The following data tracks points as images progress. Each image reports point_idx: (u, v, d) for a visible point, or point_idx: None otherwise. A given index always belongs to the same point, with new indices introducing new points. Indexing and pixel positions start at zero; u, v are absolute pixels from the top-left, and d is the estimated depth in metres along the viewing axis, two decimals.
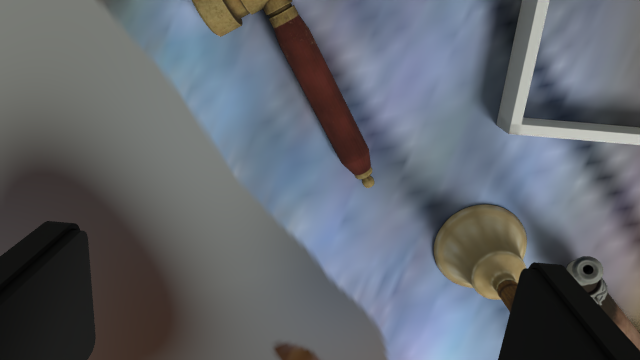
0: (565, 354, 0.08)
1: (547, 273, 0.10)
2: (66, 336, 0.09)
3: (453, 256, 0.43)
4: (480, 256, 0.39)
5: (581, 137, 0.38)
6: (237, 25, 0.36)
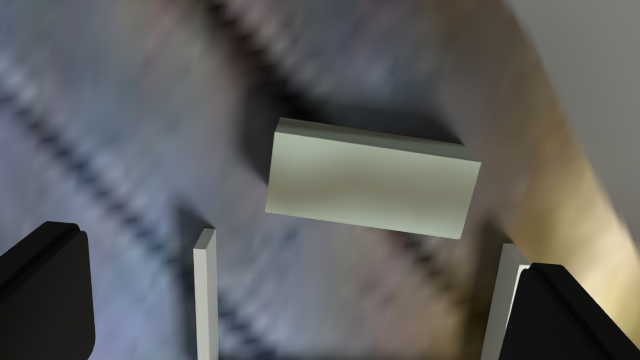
0: (565, 354, 0.08)
1: (547, 273, 0.10)
2: (66, 336, 0.09)
3: None
4: None
5: None
6: None
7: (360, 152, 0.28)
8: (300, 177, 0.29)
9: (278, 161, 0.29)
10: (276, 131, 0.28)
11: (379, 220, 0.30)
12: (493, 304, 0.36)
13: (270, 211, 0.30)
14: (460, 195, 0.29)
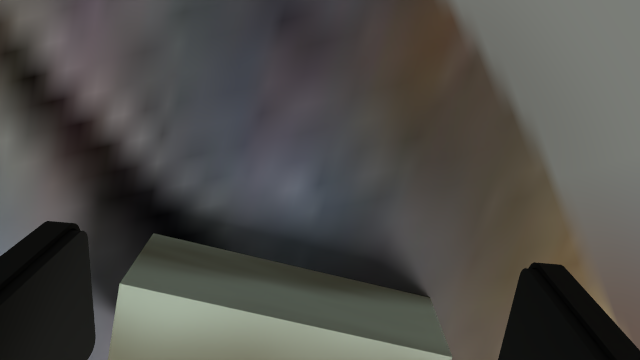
0: (565, 354, 0.08)
1: (547, 273, 0.10)
2: (66, 336, 0.09)
3: None
4: None
5: None
6: None
7: (261, 326, 0.17)
8: (161, 352, 0.18)
9: (125, 326, 0.17)
10: (123, 281, 0.17)
11: None
12: None
13: None
14: None
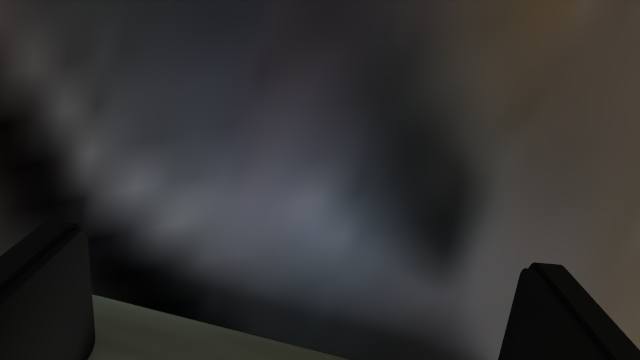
0: (565, 354, 0.08)
1: (547, 273, 0.10)
2: (66, 336, 0.09)
3: None
4: None
5: None
6: None
7: None
8: None
9: None
10: None
11: None
12: None
13: None
14: None
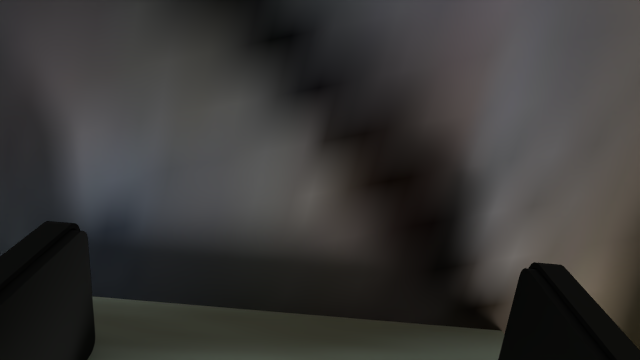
0: (565, 354, 0.08)
1: (547, 273, 0.10)
2: (66, 336, 0.09)
3: None
4: None
5: None
6: None
7: None
8: None
9: None
10: None
11: None
12: None
13: None
14: None
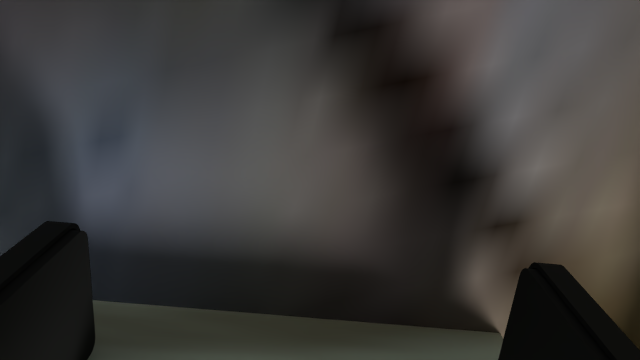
0: (565, 354, 0.08)
1: (547, 273, 0.10)
2: (66, 336, 0.09)
3: None
4: None
5: None
6: None
7: None
8: None
9: None
10: None
11: None
12: None
13: None
14: None
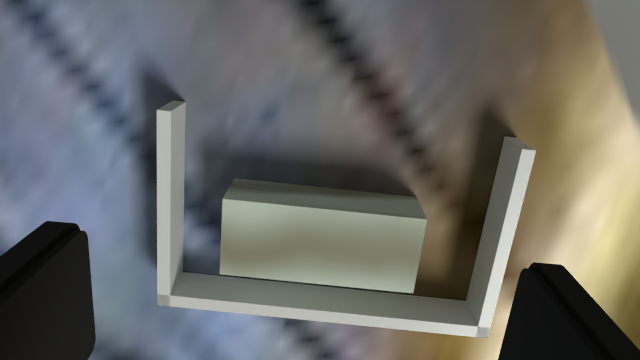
0: (565, 354, 0.08)
1: (547, 273, 0.10)
2: (66, 336, 0.09)
3: None
4: None
5: (244, 310, 0.32)
6: None
7: (307, 214, 0.29)
8: (251, 240, 0.30)
9: (228, 226, 0.29)
10: (224, 198, 0.29)
11: (331, 277, 0.30)
12: (490, 208, 0.32)
13: (224, 273, 0.30)
14: (409, 251, 0.30)
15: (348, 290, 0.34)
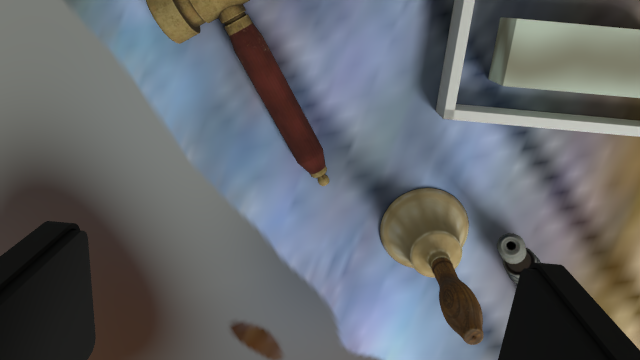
0: (565, 354, 0.08)
1: (547, 273, 0.10)
2: (66, 336, 0.09)
3: (396, 237, 0.45)
4: (417, 236, 0.41)
5: (512, 122, 0.40)
6: (194, 33, 0.38)
7: (581, 31, 0.37)
8: (533, 54, 0.38)
9: (517, 42, 0.37)
10: None
11: (591, 87, 0.38)
12: None
13: (507, 85, 0.38)
14: None
15: (580, 115, 0.43)
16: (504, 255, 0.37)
